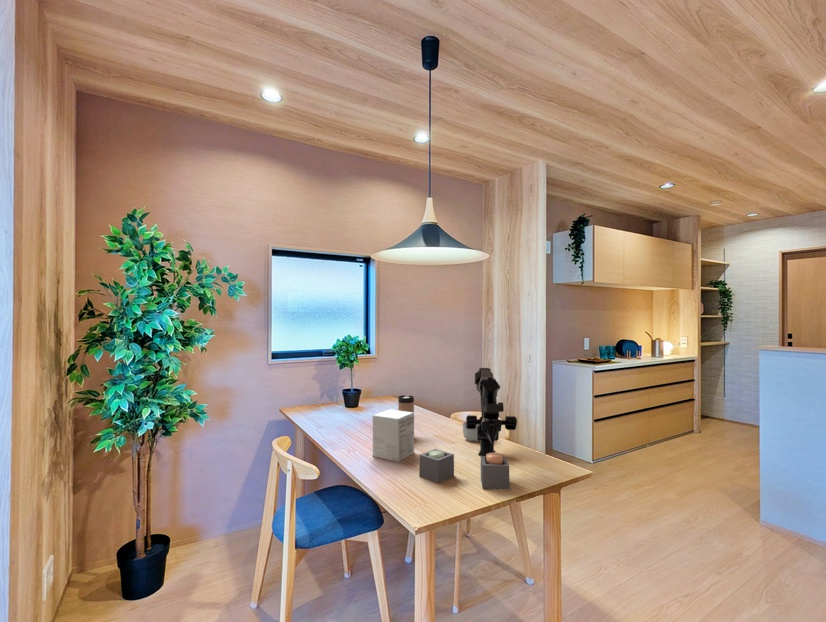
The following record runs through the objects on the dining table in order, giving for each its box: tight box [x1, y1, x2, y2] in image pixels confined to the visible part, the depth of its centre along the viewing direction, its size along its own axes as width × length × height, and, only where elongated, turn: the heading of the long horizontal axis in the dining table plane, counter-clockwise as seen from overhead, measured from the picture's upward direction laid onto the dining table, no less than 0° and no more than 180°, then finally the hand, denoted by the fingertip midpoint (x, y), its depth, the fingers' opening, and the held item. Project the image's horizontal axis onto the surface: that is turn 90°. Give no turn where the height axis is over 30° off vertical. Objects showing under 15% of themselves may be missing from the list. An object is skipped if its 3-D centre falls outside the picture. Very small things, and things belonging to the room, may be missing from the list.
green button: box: [429, 450, 445, 459], centre depth 150 cm, size 6×6×3 cm
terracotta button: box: [486, 452, 504, 465], centre depth 143 cm, size 6×6×3 cm
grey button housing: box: [418, 448, 455, 484], centre depth 150 cm, size 9×9×8 cm
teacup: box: [461, 421, 480, 442], centre depth 196 cm, size 14×11×8 cm
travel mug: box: [397, 394, 415, 413], centre depth 197 cm, size 8×8×20 cm
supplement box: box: [372, 408, 415, 463], centre depth 174 cm, size 13×13×18 cm
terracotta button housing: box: [480, 455, 510, 490], centre depth 143 cm, size 9×9×8 cm
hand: (492, 443), depth 149 cm, fingers closed
